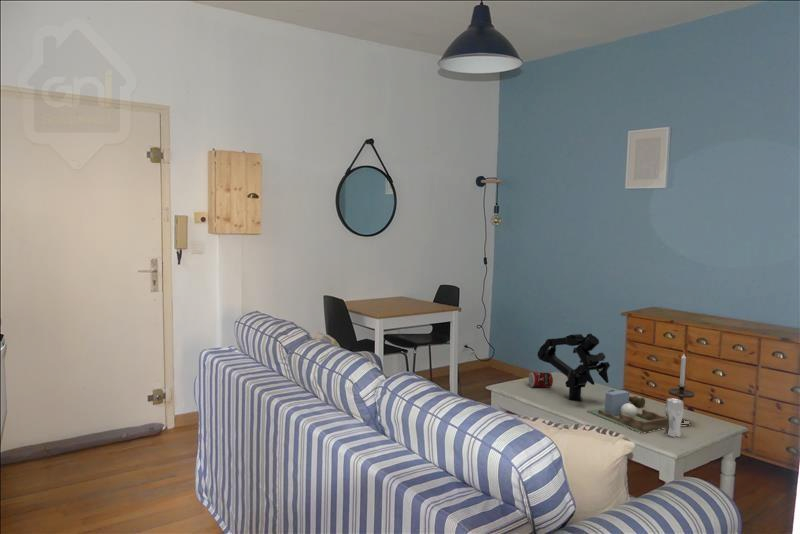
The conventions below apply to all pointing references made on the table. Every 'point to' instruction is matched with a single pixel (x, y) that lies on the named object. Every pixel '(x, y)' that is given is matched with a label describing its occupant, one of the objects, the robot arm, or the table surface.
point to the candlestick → (682, 385)
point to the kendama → (635, 400)
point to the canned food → (540, 379)
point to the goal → (635, 420)
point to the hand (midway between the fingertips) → (600, 383)
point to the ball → (629, 409)
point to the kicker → (615, 401)
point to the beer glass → (673, 416)
